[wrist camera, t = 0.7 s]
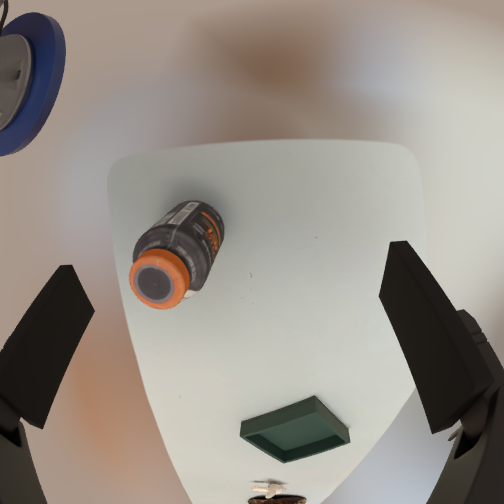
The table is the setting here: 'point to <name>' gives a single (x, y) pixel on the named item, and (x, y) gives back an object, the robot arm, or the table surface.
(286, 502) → the cactus
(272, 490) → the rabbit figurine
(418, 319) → the robot arm
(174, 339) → the table surface
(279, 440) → the tray
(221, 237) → the pill bottle
